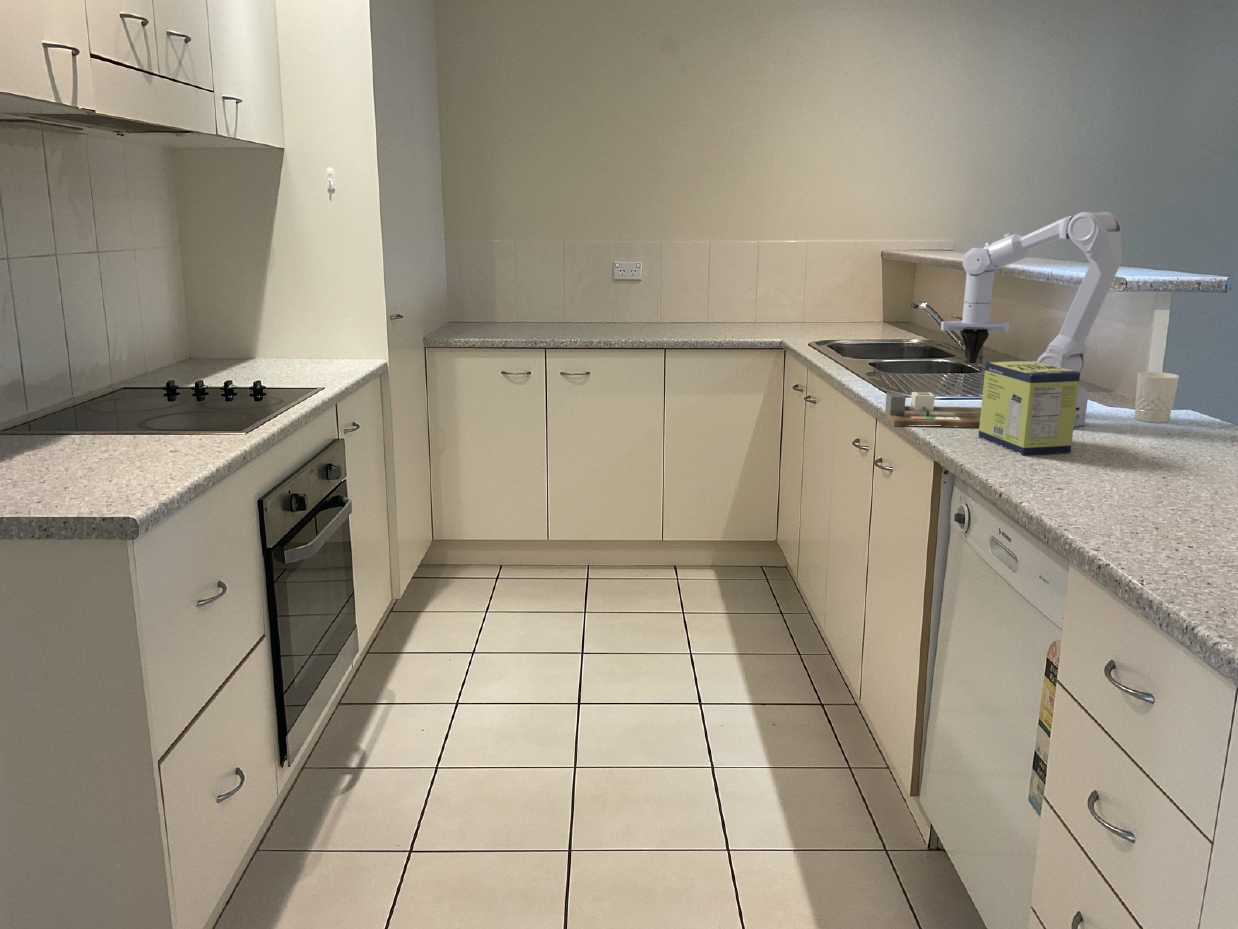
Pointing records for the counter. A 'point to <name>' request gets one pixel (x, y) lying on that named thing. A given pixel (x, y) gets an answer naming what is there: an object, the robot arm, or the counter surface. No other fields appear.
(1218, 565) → the counter surface
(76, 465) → the counter surface
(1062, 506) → the counter surface
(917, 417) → the gauge scale
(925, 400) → the gauge carriage
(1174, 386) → the white cup
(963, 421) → the gauge bed
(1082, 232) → the robot arm
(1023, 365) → the protein box
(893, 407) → the anvil and rails
